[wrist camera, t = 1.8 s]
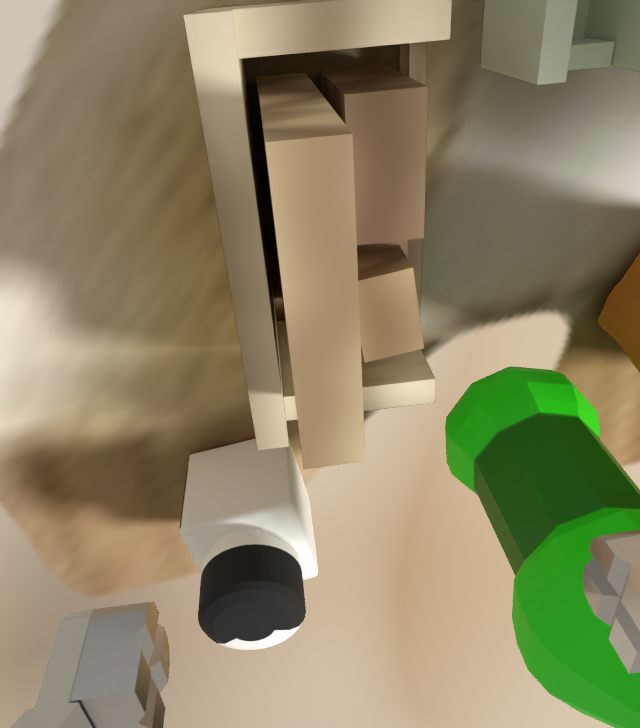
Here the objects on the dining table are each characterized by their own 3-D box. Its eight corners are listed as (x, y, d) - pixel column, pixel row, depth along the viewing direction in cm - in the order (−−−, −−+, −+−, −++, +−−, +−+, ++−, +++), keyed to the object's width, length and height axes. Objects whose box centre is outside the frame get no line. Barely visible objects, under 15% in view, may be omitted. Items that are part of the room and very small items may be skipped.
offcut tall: (385, 65, 29) (428, 86, 22) (386, 186, 32) (424, 238, 25) (321, 71, 29) (344, 94, 22) (329, 192, 32) (351, 245, 25)
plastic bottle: (484, 479, 45) (693, 904, 24) (397, 407, 40) (562, 857, 19) (595, 399, 42) (948, 808, 21) (514, 311, 37) (866, 724, 16)
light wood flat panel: (305, 72, 28) (352, 133, 16) (322, 293, 35) (365, 461, 22) (256, 77, 28) (264, 142, 16) (282, 298, 35) (303, 469, 22)
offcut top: (399, 245, 28) (413, 267, 26) (410, 321, 31) (424, 348, 28) (339, 259, 29) (348, 283, 26) (355, 334, 31) (364, 362, 29)
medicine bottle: (187, 452, 40) (167, 604, 30) (286, 428, 40) (299, 573, 30) (219, 520, 44) (211, 675, 34) (309, 499, 44) (328, 648, 34)
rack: (416, -10, 27) (493, -13, 19) (411, 326, 37) (460, 424, 28) (203, 9, 27) (183, 15, 18) (255, 345, 36) (257, 450, 28)
